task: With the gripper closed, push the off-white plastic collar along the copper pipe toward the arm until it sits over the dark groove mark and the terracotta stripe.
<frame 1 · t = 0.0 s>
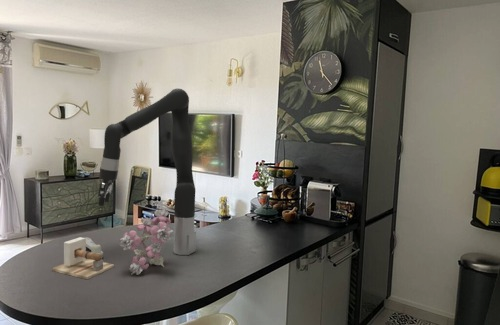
hand: (103, 203, 163), 22 cm above the breakfast bar, tool pointing down, fingers open, 8 cm apart
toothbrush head: (91, 253, 164), on the breakfast bar
collar: (75, 251, 146), point 6 cm above the breakfast bar, slide at 0.0 cm
flower: (146, 269, 147), on the breakfast bar
pipe rig: (83, 268, 145), on the breakfast bar
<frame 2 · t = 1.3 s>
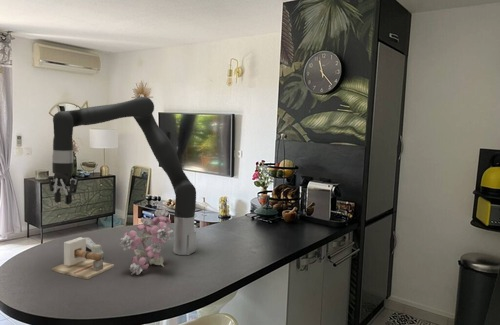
hand: (63, 202, 147), 25 cm above the breakfast bar, tool pointing down, fingers open, 5 cm apart
nothing on the breakfast bar moved.
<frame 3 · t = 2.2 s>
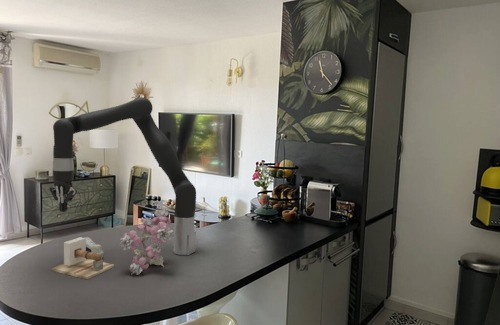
hand: (63, 211, 147), 22 cm above the breakfast bar, tool pointing down, fingers closed
nothing on the breakfast bar moved.
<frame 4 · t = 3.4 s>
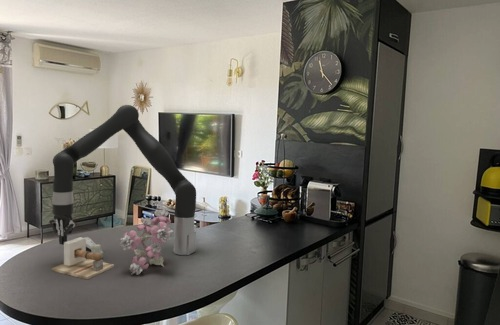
hand: (62, 243, 148), 8 cm above the breakfast bar, tool pointing down, fingers closed
nothing on the breakfast bar moved.
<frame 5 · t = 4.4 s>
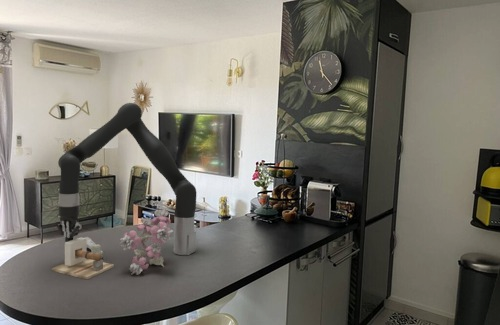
hand: (69, 245, 147), 8 cm above the breakfast bar, tool pointing down, fingers closed
collar: (75, 251, 146), point 7 cm above the breakfast bar, slide at 0.4 cm, touching gripper
everything else where it was.
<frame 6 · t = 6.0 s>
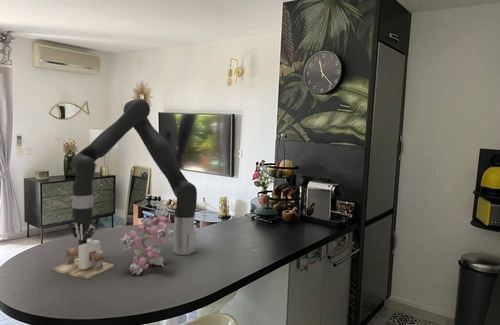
hand: (82, 248, 145), 8 cm above the breakfast bar, tool pointing down, fingers closed
collar: (89, 254, 143), point 7 cm above the breakfast bar, slide at 7.6 cm, touching gripper
everything else where it was.
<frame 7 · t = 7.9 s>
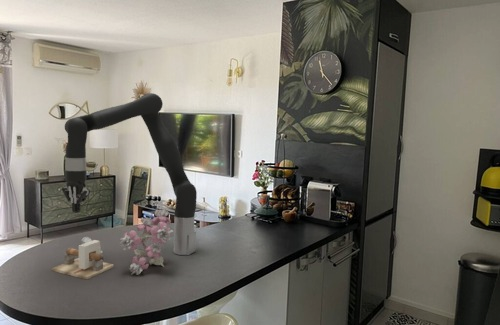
hand: (76, 212, 144), 23 cm above the breakfast bar, tool pointing down, fingers closed
collar: (89, 254, 143), point 7 cm above the breakfast bar, slide at 7.6 cm
everything else where it was.
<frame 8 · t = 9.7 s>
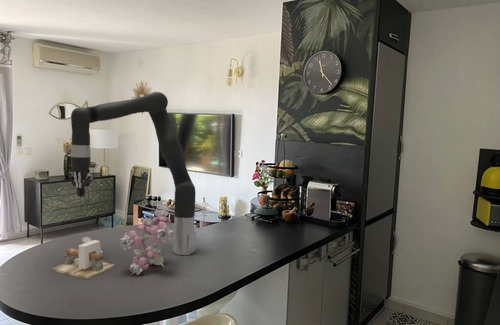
hand: (80, 196, 154), 27 cm above the breakfast bar, tool pointing down, fingers closed
nothing on the breakfast bar moved.
at the end: collar slide at 7.6 cm; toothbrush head moved 1.0 cm from its start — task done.
